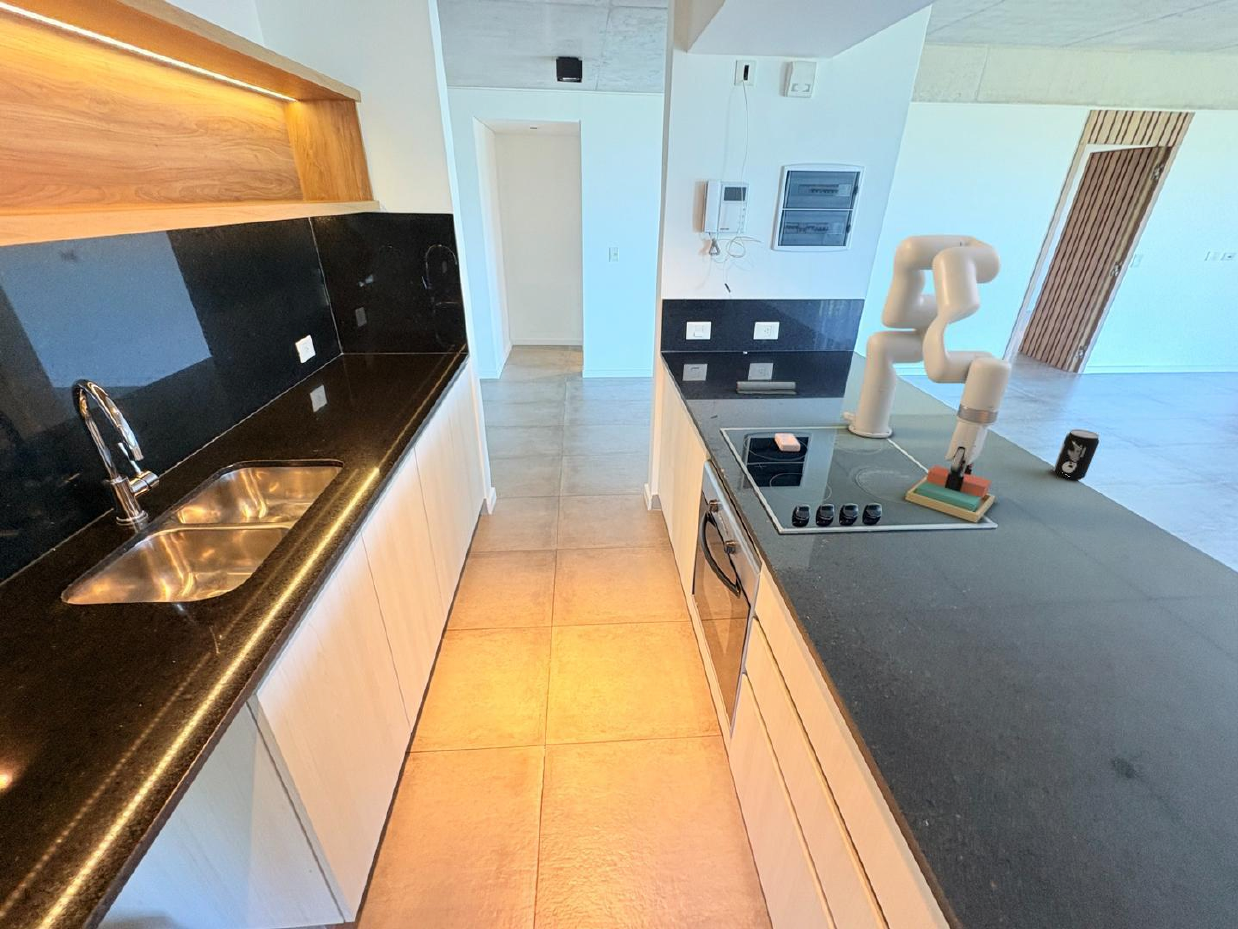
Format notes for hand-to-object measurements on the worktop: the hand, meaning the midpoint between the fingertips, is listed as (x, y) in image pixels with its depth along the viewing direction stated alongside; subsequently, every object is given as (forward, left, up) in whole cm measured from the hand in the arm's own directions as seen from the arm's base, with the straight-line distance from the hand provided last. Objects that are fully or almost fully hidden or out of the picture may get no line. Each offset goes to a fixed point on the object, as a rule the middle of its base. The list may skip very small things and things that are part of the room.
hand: (956, 485), depth 126 cm
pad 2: (0, -5, -3) cm, 6 cm away
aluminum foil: (-80, +44, -2) cm, 91 cm away
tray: (0, -2, -4) cm, 4 cm away
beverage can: (+17, +36, -4) cm, 40 cm away
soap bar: (-45, +1, -4) cm, 45 cm away
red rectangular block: (0, 0, 0) cm, 0 cm away
